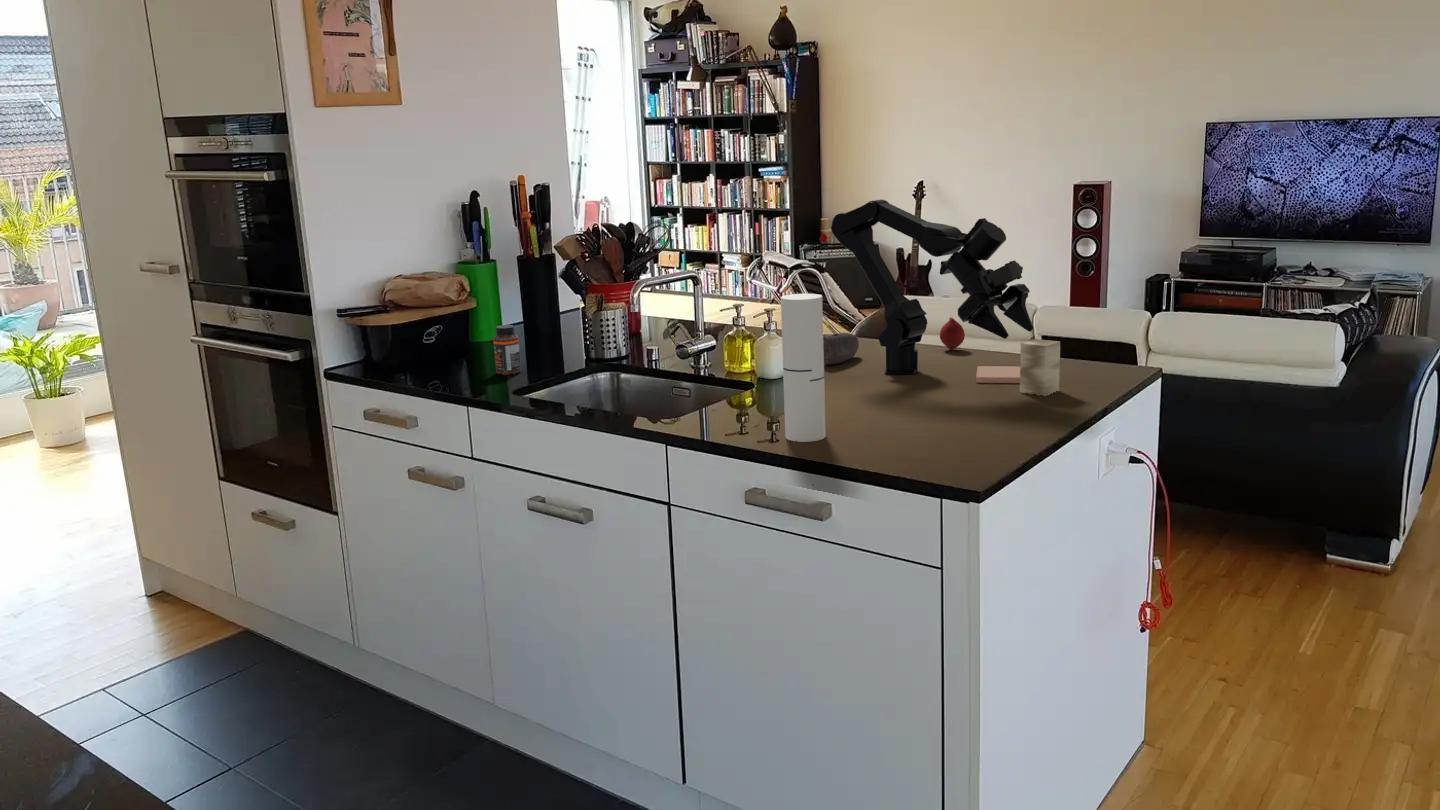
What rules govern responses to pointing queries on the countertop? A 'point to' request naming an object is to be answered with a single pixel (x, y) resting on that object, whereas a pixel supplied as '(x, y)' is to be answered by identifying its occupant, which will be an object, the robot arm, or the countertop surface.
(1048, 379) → the birch block
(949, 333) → the onion
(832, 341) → the perforated stone tool
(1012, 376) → the terracotta tile
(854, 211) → the robot arm
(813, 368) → the cylindrical container
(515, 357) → the supplement bottle
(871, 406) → the countertop surface
